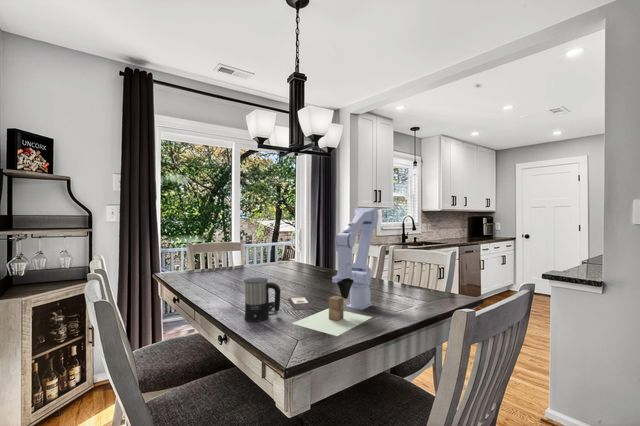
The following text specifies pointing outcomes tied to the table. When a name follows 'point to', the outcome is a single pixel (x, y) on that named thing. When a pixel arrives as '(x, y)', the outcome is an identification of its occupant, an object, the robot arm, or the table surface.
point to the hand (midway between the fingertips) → (344, 298)
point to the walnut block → (336, 308)
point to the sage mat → (332, 322)
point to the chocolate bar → (301, 303)
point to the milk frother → (259, 298)
